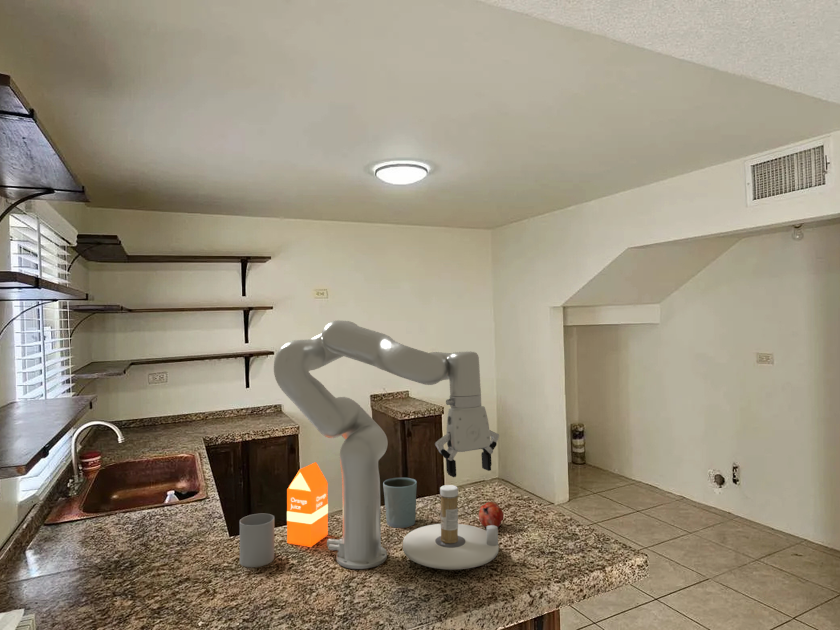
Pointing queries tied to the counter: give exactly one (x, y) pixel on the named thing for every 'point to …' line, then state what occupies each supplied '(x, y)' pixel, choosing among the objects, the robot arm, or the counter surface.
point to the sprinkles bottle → (449, 513)
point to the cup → (256, 540)
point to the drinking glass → (400, 502)
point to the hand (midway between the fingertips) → (469, 472)
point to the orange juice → (307, 507)
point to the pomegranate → (490, 514)
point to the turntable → (452, 547)
